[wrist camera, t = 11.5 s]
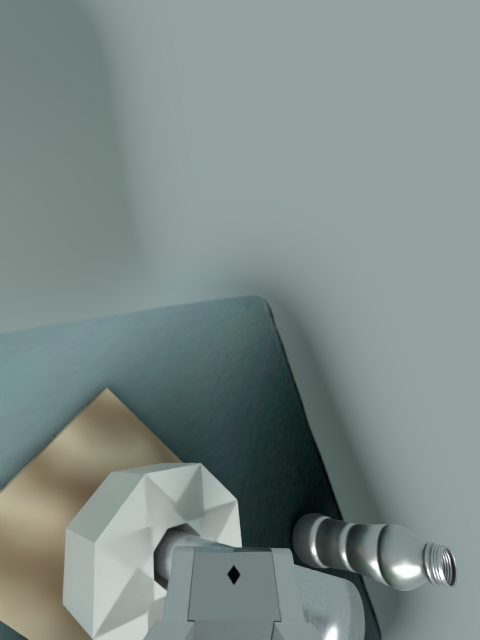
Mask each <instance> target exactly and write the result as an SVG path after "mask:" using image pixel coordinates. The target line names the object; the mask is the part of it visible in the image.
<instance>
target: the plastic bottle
mask: <svg viewBox="0 0 480 640" xmlns="http://www.w3.org/2000/svg"><path fill="white" fill-rule="evenodd" d="M292 543H293V548H294V550H295V552H296V554H297V556H298V557H299V559H300V560H301V561H302V562H304V563H306V564H308V565H310V566H311V567H316V568H335V569H342V570H349V571H352V572H355V573H358V574H361V575H364V576H367V577H370V578H372V579H374V580H377V581H379V582H381V583H383V584H385V585H388V586H391V587H392V588H395V589H398V590H402V591H406V590H413V589H415V588H417V587H419V586H421V585H422V584H424V583H425V582H426V581H428V580H429V582H430V583H431V584H433V585H437V586H440V585H441V586H445V587H449V588H453V587H455V585H456V582H457V567H456V562H455V558H454V555H453V553H452V551H451V550H450V549H449V548H448V547H446V546H443V545H437V544H435V543H431V542H427V543H426V544H424V543H423V542H422V541H421V540H420V539H419V538H418V537H417V536H416V535H415V534H413V533H412V532H411V531H409V530H408V529H407V528H405V527H403V526H400V525H398V524H377V525H367V524H354V523H347V522H343V521H339V520H335V519H331V518H329V517H327V516H324V515H321V514H318V513H310V514H305V515H303V516H302V517H300V518H299V519H298V520H297V522H296V523H295V526H294V528H293V534H292Z"/></svg>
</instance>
